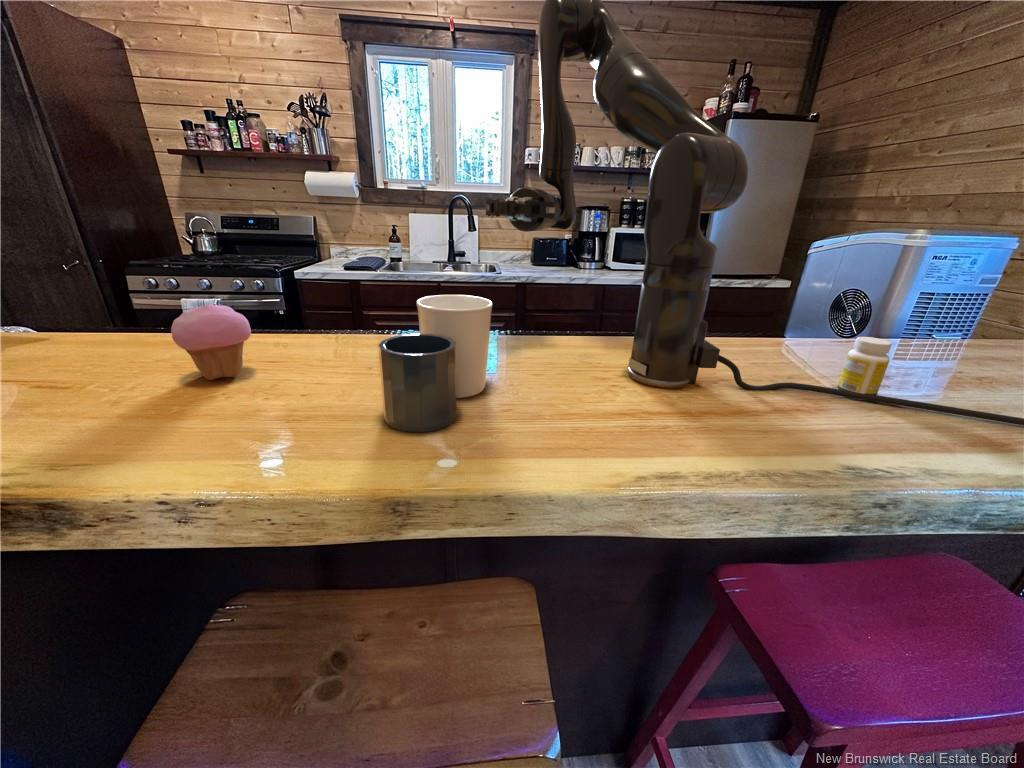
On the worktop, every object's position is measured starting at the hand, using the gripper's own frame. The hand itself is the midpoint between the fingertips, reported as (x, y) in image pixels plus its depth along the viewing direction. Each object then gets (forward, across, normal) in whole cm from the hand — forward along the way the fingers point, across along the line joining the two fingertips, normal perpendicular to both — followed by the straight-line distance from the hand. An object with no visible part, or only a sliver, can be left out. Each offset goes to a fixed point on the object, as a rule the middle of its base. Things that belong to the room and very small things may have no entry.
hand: (502, 207), depth 66 cm
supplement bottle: (-5, +54, +24) cm, 60 cm away
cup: (+26, -1, +24) cm, 35 cm away
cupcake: (+26, -32, +24) cm, 48 cm away
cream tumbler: (+16, -1, +24) cm, 29 cm away
